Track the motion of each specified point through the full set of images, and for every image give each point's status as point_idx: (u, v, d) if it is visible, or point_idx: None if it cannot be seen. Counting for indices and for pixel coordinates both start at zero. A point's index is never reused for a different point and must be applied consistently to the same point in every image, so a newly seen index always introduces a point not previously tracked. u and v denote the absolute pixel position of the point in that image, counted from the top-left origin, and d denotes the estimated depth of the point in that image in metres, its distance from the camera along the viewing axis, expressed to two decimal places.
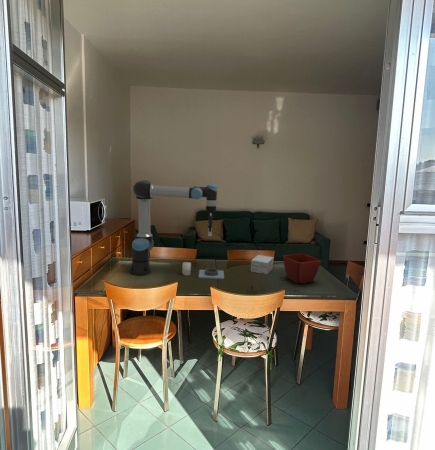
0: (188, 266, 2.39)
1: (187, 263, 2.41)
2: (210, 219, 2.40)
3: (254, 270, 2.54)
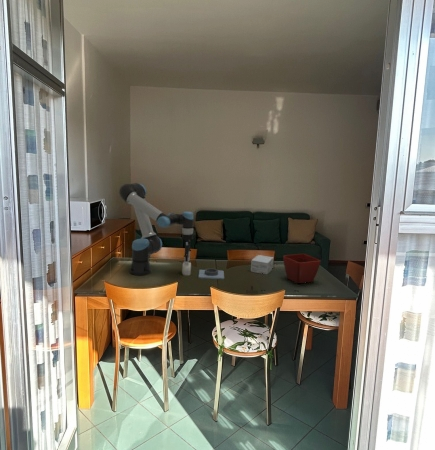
0: (188, 266, 2.39)
1: None
2: (186, 248, 2.31)
3: (254, 270, 2.54)
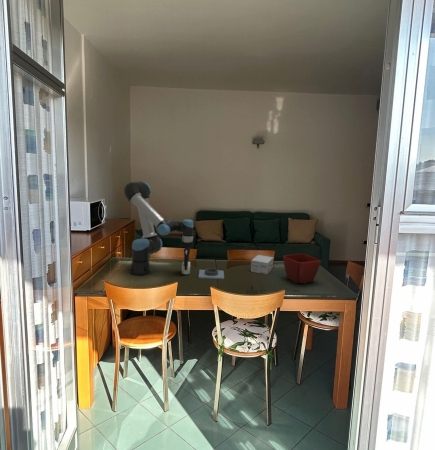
0: None
1: None
2: (185, 258, 2.34)
3: (254, 270, 2.54)
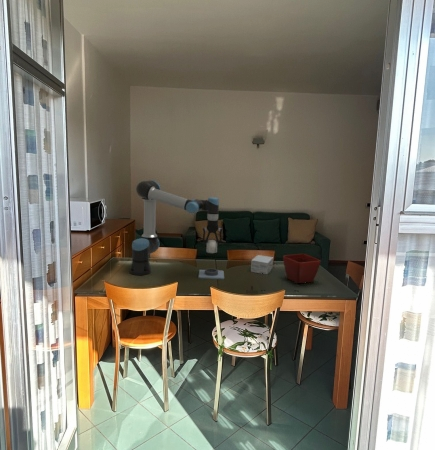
0: (208, 243, 2.37)
1: (211, 241, 2.38)
2: (203, 234, 2.37)
3: (254, 270, 2.54)
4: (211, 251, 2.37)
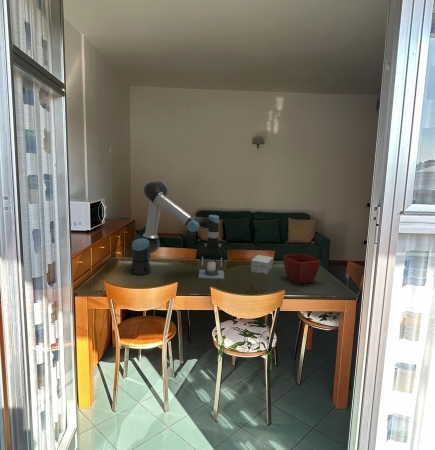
0: (208, 265, 2.40)
1: (211, 263, 2.41)
2: (201, 248, 2.39)
3: (254, 270, 2.54)
4: None
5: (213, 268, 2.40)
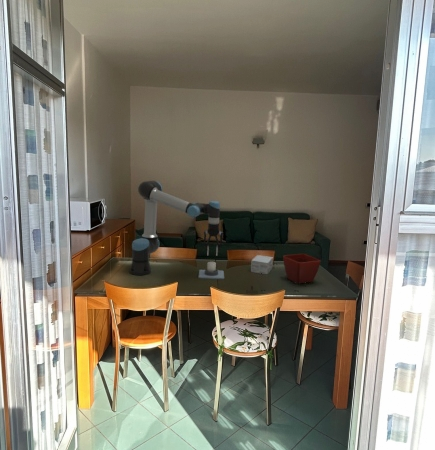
0: (208, 265, 2.40)
1: (211, 263, 2.41)
2: (204, 237, 2.38)
3: (254, 270, 2.53)
4: None
5: (213, 268, 2.40)
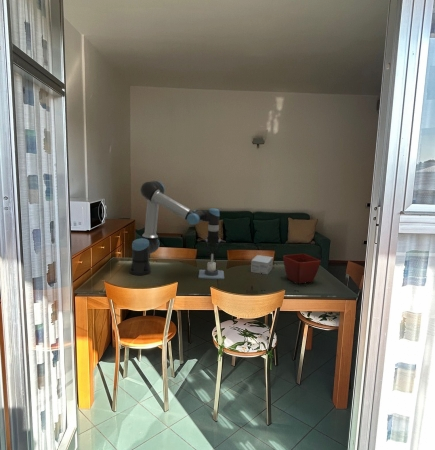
0: (208, 265, 2.40)
1: (211, 263, 2.41)
2: (206, 245, 2.39)
3: (254, 270, 2.53)
4: None
5: (213, 268, 2.40)
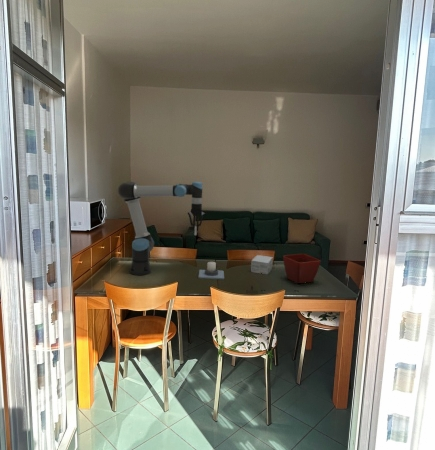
0: (208, 265, 2.40)
1: (211, 263, 2.41)
2: None
3: (254, 270, 2.53)
4: None
5: (213, 268, 2.40)
